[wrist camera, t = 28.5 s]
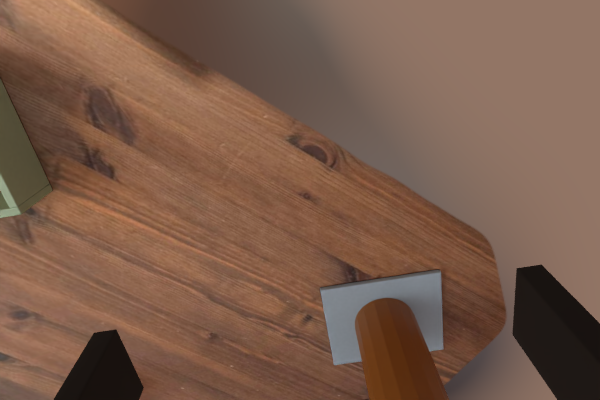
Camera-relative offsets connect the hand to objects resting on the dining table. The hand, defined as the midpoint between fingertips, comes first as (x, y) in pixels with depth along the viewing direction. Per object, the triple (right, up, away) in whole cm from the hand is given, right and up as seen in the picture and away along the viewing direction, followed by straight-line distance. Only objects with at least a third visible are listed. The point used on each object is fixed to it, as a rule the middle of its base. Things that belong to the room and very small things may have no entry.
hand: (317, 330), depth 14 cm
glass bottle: (+10, -10, +36) cm, 39 cm away
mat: (+10, -10, +37) cm, 39 cm away
